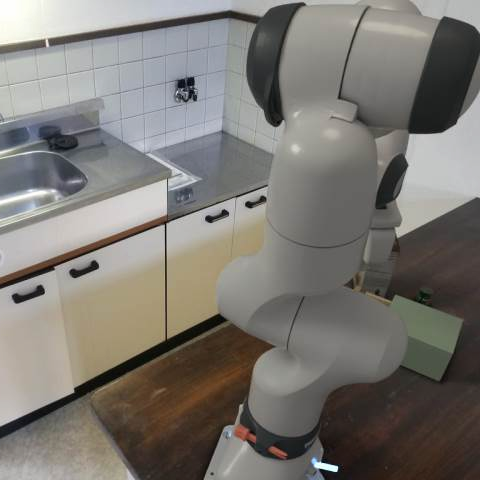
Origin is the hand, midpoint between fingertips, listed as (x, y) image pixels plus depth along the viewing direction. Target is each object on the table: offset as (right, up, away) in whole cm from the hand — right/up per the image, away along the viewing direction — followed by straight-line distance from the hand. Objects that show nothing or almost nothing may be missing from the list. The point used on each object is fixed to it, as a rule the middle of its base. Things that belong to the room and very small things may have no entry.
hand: (350, 255), depth 105 cm
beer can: (+23, -12, +17) cm, 31 cm away
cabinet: (+15, -20, +4) cm, 25 cm away
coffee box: (+12, -10, +20) cm, 25 cm away
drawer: (+7, -17, +8) cm, 20 cm away
